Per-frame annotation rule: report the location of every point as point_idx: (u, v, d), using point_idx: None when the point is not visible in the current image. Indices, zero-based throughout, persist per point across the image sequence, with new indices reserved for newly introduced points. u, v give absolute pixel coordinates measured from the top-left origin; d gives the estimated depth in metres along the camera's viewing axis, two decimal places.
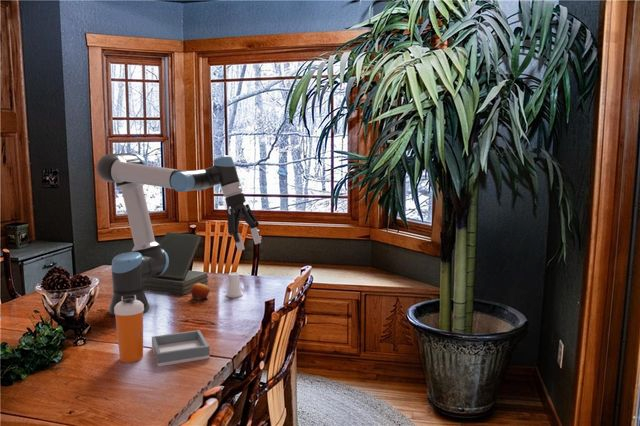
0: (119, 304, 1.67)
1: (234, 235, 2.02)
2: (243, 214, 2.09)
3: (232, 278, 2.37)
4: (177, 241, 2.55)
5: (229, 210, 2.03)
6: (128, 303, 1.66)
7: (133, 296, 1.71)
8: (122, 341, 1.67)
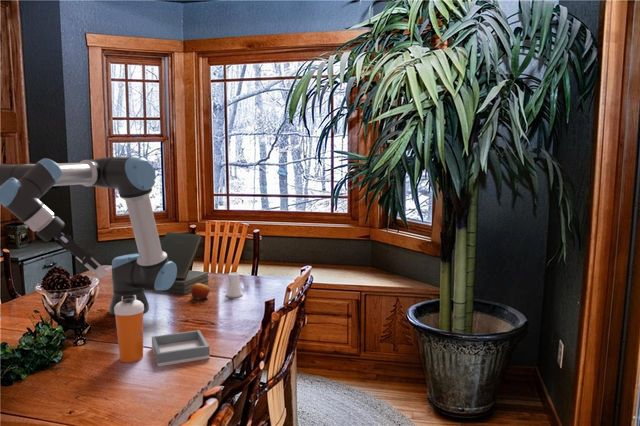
0: (119, 304, 1.67)
1: None
2: None
3: (232, 278, 2.37)
4: (177, 241, 2.55)
5: None
6: (128, 303, 1.66)
7: (133, 296, 1.71)
8: (122, 341, 1.67)
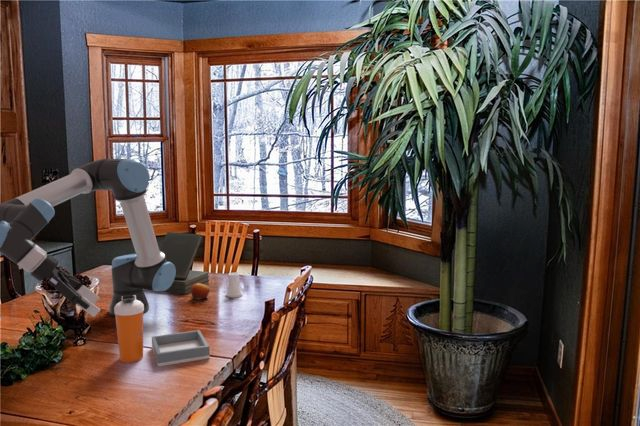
0: (119, 304, 1.67)
1: None
2: None
3: (232, 278, 2.37)
4: (178, 240, 2.55)
5: None
6: (128, 303, 1.66)
7: (133, 296, 1.71)
8: (122, 341, 1.67)
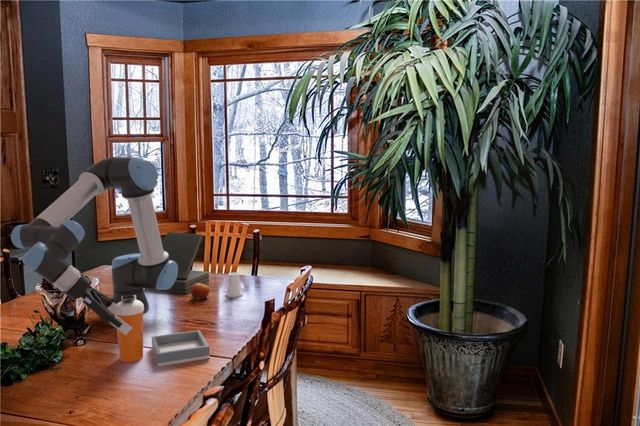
0: (119, 304, 1.67)
1: None
2: None
3: (232, 278, 2.37)
4: (178, 240, 2.56)
5: None
6: (128, 303, 1.66)
7: (133, 296, 1.71)
8: (122, 341, 1.67)
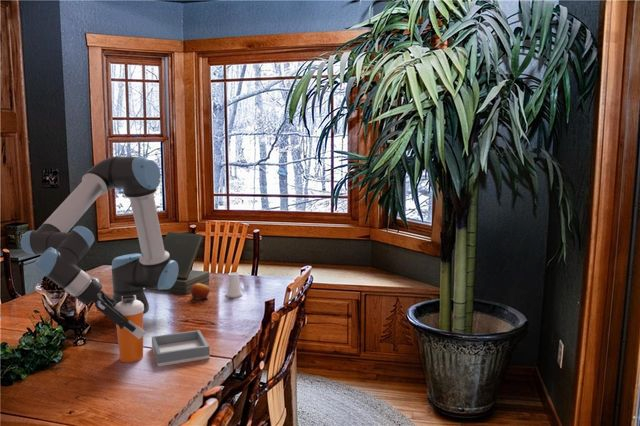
0: (119, 304, 1.67)
1: None
2: None
3: (232, 278, 2.37)
4: (179, 240, 2.56)
5: None
6: (128, 303, 1.66)
7: (133, 296, 1.71)
8: (122, 341, 1.67)
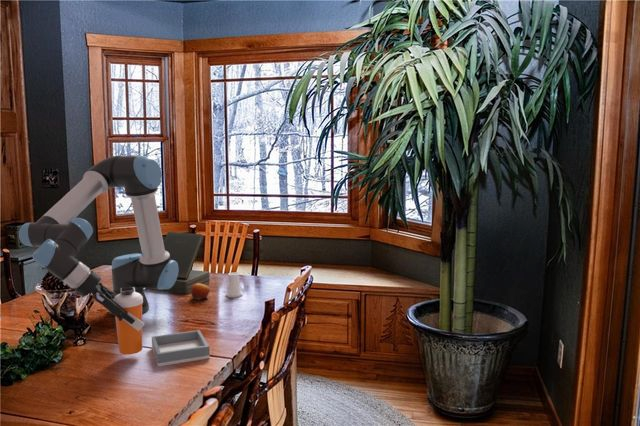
0: (118, 296, 1.66)
1: None
2: None
3: (231, 278, 2.37)
4: (179, 240, 2.56)
5: None
6: (127, 295, 1.65)
7: (132, 288, 1.70)
8: (121, 334, 1.67)
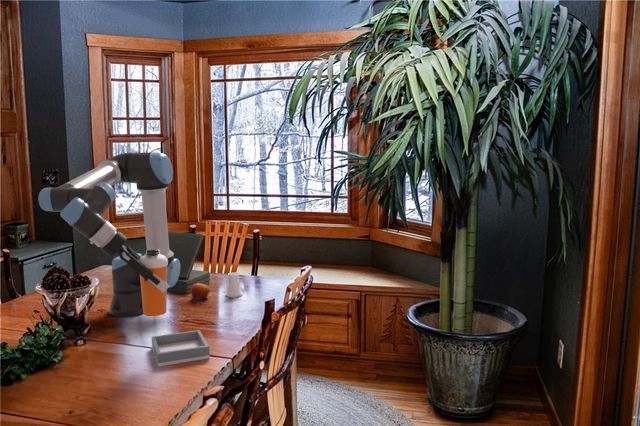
0: (143, 257, 1.66)
1: None
2: None
3: (231, 278, 2.37)
4: (179, 240, 2.56)
5: None
6: (152, 256, 1.65)
7: (157, 250, 1.70)
8: (146, 295, 1.66)
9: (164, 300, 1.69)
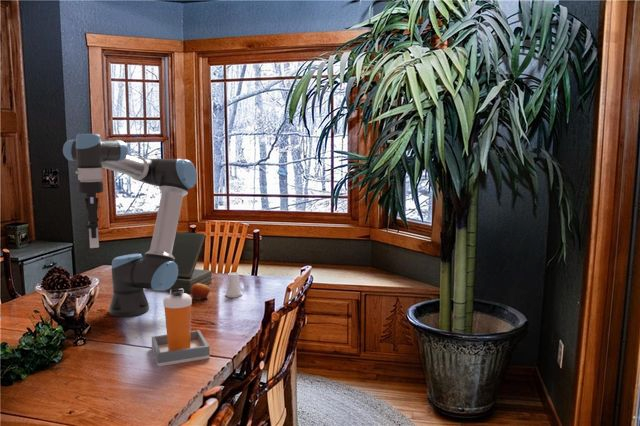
0: (168, 297, 1.71)
1: None
2: None
3: (231, 278, 2.37)
4: (181, 240, 2.57)
5: None
6: (178, 296, 1.70)
7: (181, 289, 1.75)
8: (171, 334, 1.71)
9: (189, 338, 1.74)
